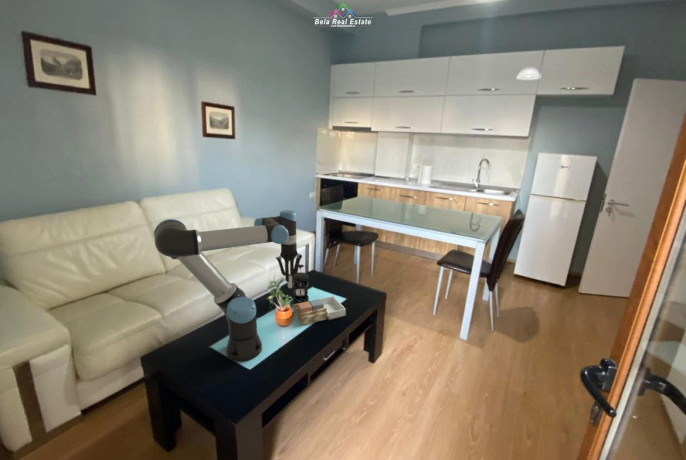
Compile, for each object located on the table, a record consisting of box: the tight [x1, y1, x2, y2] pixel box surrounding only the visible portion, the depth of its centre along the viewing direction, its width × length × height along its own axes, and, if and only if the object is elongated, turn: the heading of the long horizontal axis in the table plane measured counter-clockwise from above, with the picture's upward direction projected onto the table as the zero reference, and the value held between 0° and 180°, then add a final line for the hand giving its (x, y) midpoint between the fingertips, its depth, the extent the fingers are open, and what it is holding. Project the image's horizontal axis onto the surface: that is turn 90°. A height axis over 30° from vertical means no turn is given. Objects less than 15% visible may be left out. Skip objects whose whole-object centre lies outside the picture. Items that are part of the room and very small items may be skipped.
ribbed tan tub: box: [292, 300, 329, 326], centre depth 170 cm, size 14×14×6 cm
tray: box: [319, 295, 347, 321], centre depth 176 cm, size 10×16×4 cm, turn 27°
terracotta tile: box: [298, 301, 312, 313], centre depth 168 cm, size 6×6×3 cm
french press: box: [291, 264, 310, 306], centre depth 181 cm, size 12×9×23 cm
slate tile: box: [309, 298, 324, 310], centre depth 171 cm, size 6×6×3 cm
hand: (289, 286), depth 161 cm, fingers closed
